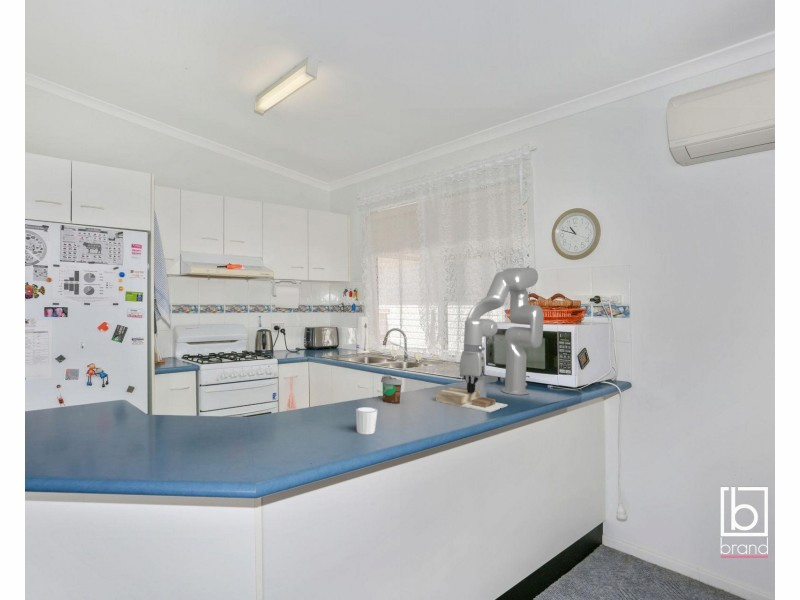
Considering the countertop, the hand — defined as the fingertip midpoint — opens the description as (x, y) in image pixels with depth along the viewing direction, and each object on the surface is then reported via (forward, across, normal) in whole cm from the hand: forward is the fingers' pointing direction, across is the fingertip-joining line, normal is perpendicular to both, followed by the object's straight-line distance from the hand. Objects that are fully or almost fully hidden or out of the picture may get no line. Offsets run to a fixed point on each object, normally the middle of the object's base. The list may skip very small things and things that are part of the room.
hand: (470, 392), depth 185 cm
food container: (+5, +25, +24) cm, 35 cm away
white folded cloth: (+5, -7, 0) cm, 8 cm away
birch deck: (+5, +6, 0) cm, 8 cm away
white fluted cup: (+5, +3, +61) cm, 61 cm away
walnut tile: (+3, -6, 0) cm, 7 cm away
